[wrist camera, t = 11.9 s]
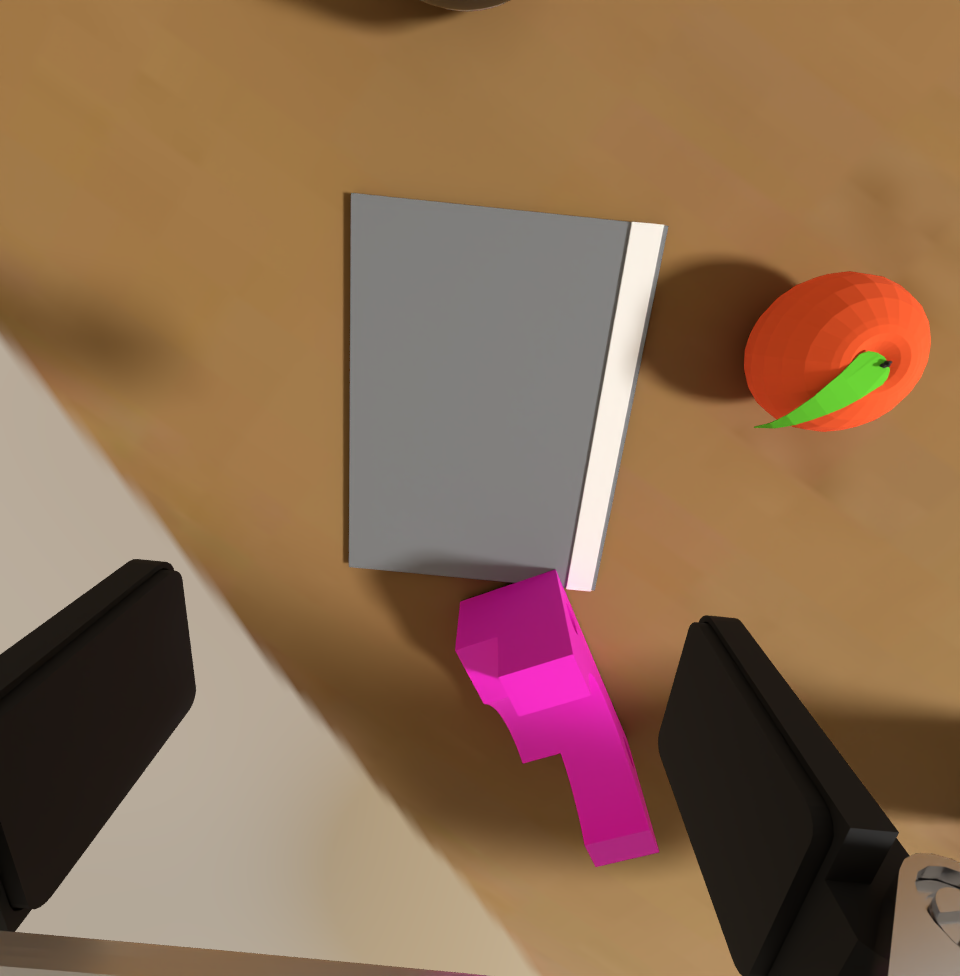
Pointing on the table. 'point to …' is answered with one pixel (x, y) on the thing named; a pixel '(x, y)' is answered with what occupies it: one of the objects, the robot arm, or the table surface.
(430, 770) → the table surface
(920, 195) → the table surface
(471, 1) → the dark grey rounded cone
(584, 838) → the toy block
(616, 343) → the mat
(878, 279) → the clementine
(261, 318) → the table surface
